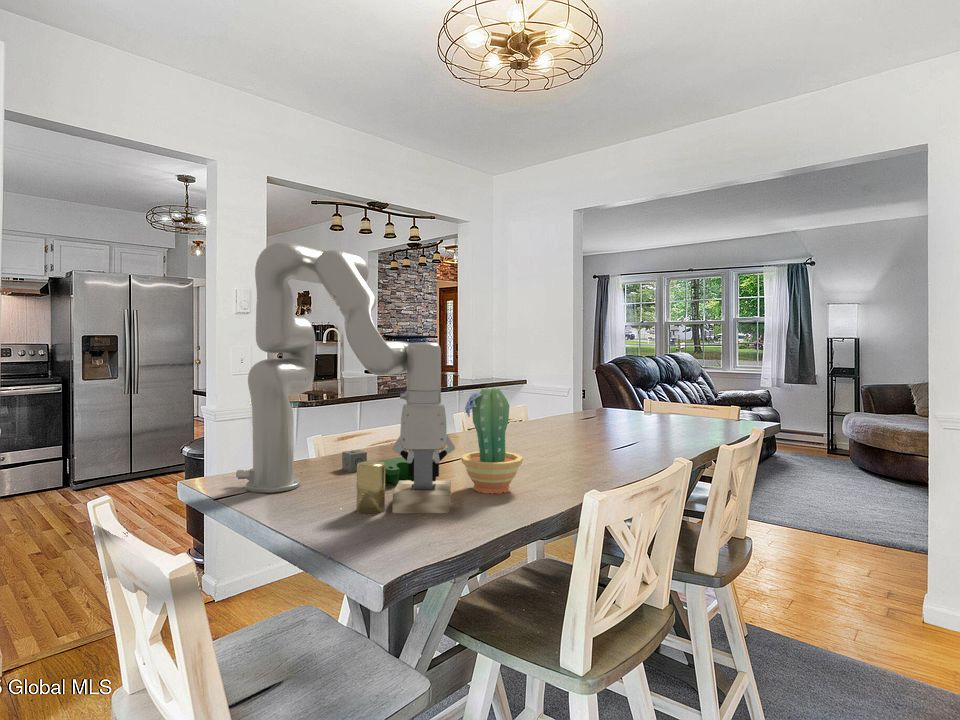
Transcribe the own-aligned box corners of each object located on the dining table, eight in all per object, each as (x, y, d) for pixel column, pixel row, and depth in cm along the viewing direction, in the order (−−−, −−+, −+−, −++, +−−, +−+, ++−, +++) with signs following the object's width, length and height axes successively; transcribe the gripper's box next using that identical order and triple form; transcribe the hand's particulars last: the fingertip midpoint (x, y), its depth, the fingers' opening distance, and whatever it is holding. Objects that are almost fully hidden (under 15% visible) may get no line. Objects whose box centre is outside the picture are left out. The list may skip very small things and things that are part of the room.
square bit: (414, 493, 126) (414, 448, 126) (415, 488, 130) (415, 444, 130) (432, 493, 126) (432, 448, 126) (433, 488, 130) (433, 445, 130)
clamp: (390, 502, 146) (383, 474, 141) (377, 492, 150) (370, 464, 146) (427, 478, 152) (422, 450, 148) (414, 469, 156) (408, 442, 152)
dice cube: (342, 469, 163) (342, 451, 162) (358, 466, 166) (358, 449, 166) (350, 472, 159) (350, 454, 159) (366, 469, 162) (366, 452, 162)
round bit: (353, 514, 121) (354, 467, 121) (359, 505, 127) (360, 460, 127) (382, 514, 121) (382, 467, 121) (386, 506, 127) (387, 461, 127)
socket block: (392, 513, 122) (392, 494, 122) (399, 497, 134) (399, 480, 134) (449, 513, 123) (449, 494, 122) (450, 497, 135) (450, 480, 134)
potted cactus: (480, 478, 153) (481, 384, 152) (533, 486, 146) (534, 387, 145) (448, 491, 140) (449, 388, 139) (504, 501, 132) (506, 392, 131)
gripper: (383, 399, 124) (383, 484, 124) (461, 399, 124) (461, 484, 125) (388, 396, 131) (388, 476, 132) (461, 396, 131) (461, 475, 132)
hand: (423, 479), depth 128 cm, fingers closed on square bit, 4 cm apart
